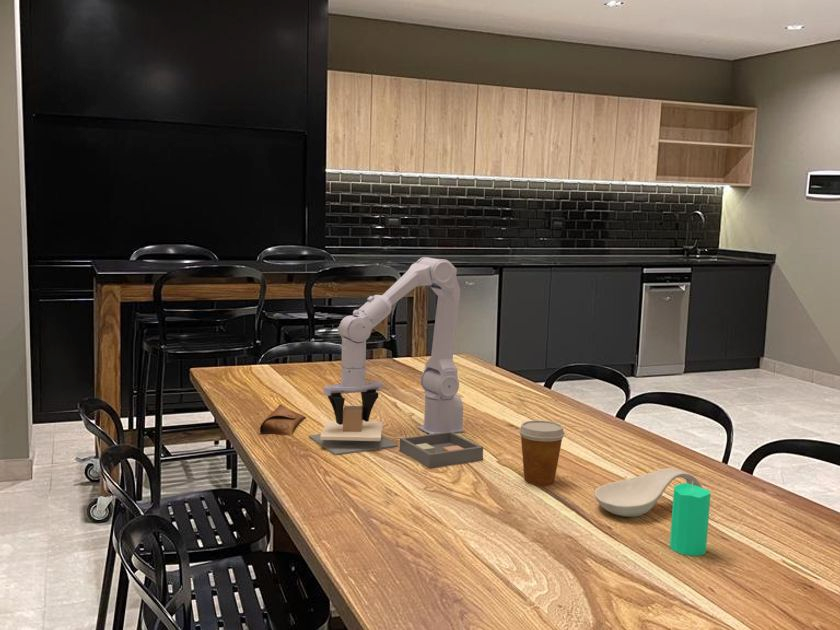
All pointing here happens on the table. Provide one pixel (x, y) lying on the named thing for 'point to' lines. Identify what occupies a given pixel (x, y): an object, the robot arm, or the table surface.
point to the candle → (689, 519)
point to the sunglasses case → (281, 422)
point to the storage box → (441, 449)
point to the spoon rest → (638, 492)
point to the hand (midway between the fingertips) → (352, 422)
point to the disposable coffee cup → (540, 450)
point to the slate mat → (351, 445)
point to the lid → (352, 427)
